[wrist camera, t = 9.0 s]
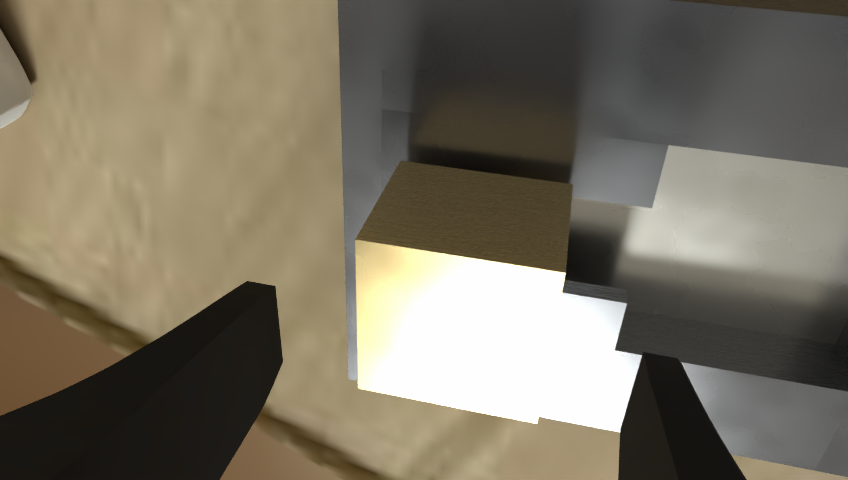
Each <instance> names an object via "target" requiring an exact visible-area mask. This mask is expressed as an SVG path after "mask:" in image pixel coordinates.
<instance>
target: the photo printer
mask: <svg viewBox="0 0 848 480" xmlns="http://www.w3.org/2000/svg"><path fill="white" fill-rule="evenodd" d="M32 96H33V92H32V87H31V84H30V82H29V80H28V78H27V76H26V73H25V71H24V69H23V67H22V65H21V63H20V62H19V60H18V58H17V56H16V55H15V53H14V51H13V49H12V48H11V46H10V44H9V43H8V41H7V39H6V37H5V36H4V34H3V32H2V31H1V29H0V129H1V128H3V127H4V126H6V125H8V124H10V123H12V122H13V121H15V120H16V119H18V118H19V117H20V116H21V115H22V114H23V113H24V111H25V110H26V108H27V106H28V104H29V101H30V100H31V98H32Z"/></svg>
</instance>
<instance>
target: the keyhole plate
mask: <svg viewBox="0 0 848 480" xmlns="http://www.w3.org/2000/svg"><path fill="white" fill-rule="evenodd" d="M338 21H339V57H340V92H341V128H342V163H343V199H344V234H345V270H346V305H347V340H348V376H349V379H351V380H356V381H358V350H357V304H356V258H355V239H356V237H357V235H358V234H359V232H360V230H361V228H362V227H363V225H364V223H365V221H366V220H367V218H368V216H369V215H370V213H371V211H372V209H373V208H374V206H375V204H376V202H377V201H378V199H379V197H380V195H381V194H382V192H383V190H384V188H385V187H386V185H387V183H388V182H389V180H390V178H391V176H392V175H393V173H394V171H395V169H396V168H397V166H398V164H399V162H400V161H406V162H414V163H421V164H428V165H436V166H443V167H450V168H458V169H465V170H472V171H479V172H487V173H494V174H501V175H509V176H516V177H523V178H530V179H538V180H545V181H552V182H560V183H567V184H573V190H572V202H571V214H570V227H569V239H568V251H567V264H566V274H565V280H564V285H563V290H562V295H561V300H560V306H559V311H558V316H557V321H556V327H555V332H554V337H553V342H552V347H551V353H550V358H549V363H548V368H547V374H546V379H545V384H544V389H543V394H542V400H541V405H540V410H539V415H538V416H540V417H545V418H550V419H555V420H560V421H565V422H570V423H575V424H580V425H586V426H591V427H596V428H601V429H606V430H611V431H616V432H620V429H621V425H622V422H623V418H624V415H625V412H626V408H627V405H628V402H629V398H630V395H631V391H632V388H633V385H634V381H635V378H636V374H637V371H638V368H639V364H640V361H641V357H642V354H643V352H646V353H652V354H657V355H663V356H668V357H674V358H678V359H679V361H680V362H681V363H682V365H683V367H684V369H685V371H686V373H687V375H688V377H689V379H690V381H691V384H692V385H693V387H694V389H695V391H696V393H697V395H698V397H699V399H700V401H701V403H702V405H703V407H704V409H705V410H706V412H707V414H708V416H709V418H710V420H711V421H712V423H713V425H714V427H715V429H716V430H717V432H718V434H719V435H720V437H721V439H722V440H723V442H724V444H725V446H726V447H727V449H728V451H729V452H730V454H733V455H738V456H744V457H749V458H754V459H759V460H764V461H769V462H774V463H779V464H784V465H789V466H795V467H800V468H805V469H810V470H815V471H820V472H825V473H830V474H835V475H840V476H845V477H848V0H338Z"/></svg>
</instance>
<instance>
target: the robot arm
mask: <svg viewBox="0 0 848 480" xmlns="http://www.w3.org/2000/svg"><path fill="white" fill-rule="evenodd" d="M282 362H283V358H282V348H281V338H280V328H279V318H278V308H277V298H276V288H275V286H272V285H266V284H260V283H255V282H249V281H247V282H245V283H243V284H242V285H240V286H239V287H237V288H235V289H234V290H232V291H231V292H229V293H228V294H226V295H225V296H223V297H222V298H220V299H219V300H217V301H216V302H214V303H213V304H211V305H210V306H208V307H207V308H205V309H204V310H202V311H201V312H199V313H197V314H196V315H194V316H193V317H191V318H190V319H188V320H187V321H185V322H183V323H182V324H180V325H179V326H177V327H176V328H174V329H173V330H171V331H169V332H168V333H166V334H165V335H163V336H162V337H160V338H158V339H156V340H155V341H153V342H151V343H150V344H148V345H146V346H144V347H143V348H141V349H139V350H138V351H136V352H134V353H132V354H131V355H129V356H127V357H126V358H124V359H122V360H120V361H119V362H117V363H115V364H114V365H111V366H110V367H108V368H106V369H104V370H102V371H100V372H98V373H96V374H94V375H92V376H90V377H88V378H86V379H84V380H82V381H80V382H78V383H76V384H74V385H72V386H70V387H68V388H66V389H63V390H61V391H59V392H57V393H55V394H52V395H50V396H48V397H45V398H43V399H40V400H38V401H35V402H33V403H31V404H28V405H26V406H23V407H21V408H18V409H16V410H14V411H11V412H9V413H6V414H4V415H1V416H0V480H220V478H221V476H222V475H223V473H224V471H225V470H226V468H227V466H228V465H229V463H230V461H231V460H232V458H233V456H234V455H235V453H236V451H237V450H238V448H239V446H240V445H241V443H242V442H243V440H244V438H245V436H246V435H247V433H248V431H249V430H250V428H251V426H252V425H253V423H254V421H255V420H256V418H257V416H258V415H259V413H260V411H261V409H262V408H263V406H264V404H265V402H266V400H267V397H268V395H269V393H270V391H271V389H272V386H273V384H274V382H275V379H276V377H277V374H278V372H279V370H280V367H281V365H282ZM618 480H746V478H745V476H744V475H743V473H742V472H741V470H740V469H739V467H738V465H737V464H736V462H735V461H734V459H733V457H732V456H731V454H730V452H729V451H728V449H727V447H726V446H725V444H724V442H723V440H722V439H721V437H720V435H719V434H718V432H717V430H716V429H715V427H714V425H713V423H712V421H711V420H710V418H709V416H708V414H707V412H706V410H705V409H704V407H703V405H702V403H701V401H700V399H699V397H698V395H697V393H696V391H695V389H694V387H693V385H692V384H691V381H690V379H689V377H688V375H687V373H686V371H685V369H684V367H683V365H682V363H681V362H680V361H679V359H678V358H674V357H668V356H663V355H657V354H652V353H646V352H643V354H642V357H641V361H640V364H639V368H638V371H637V374H636V378H635V381H634V385H633V388H632V391H631V395H630V398H629V402H628V405H627V408H626V412H625V415H624V418H623V422H622V425H621V429H620V450H619V478H618Z"/></svg>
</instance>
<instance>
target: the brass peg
mask: <svg viewBox="0 0 848 480" xmlns="http://www.w3.org/2000/svg"><path fill="white" fill-rule="evenodd" d="M572 190H573V184H567V183H560V182H552V181H545V180H538V179H530V178H523V177H516V176H509V175H501V174H494V173H487V172H479V171H472V170H465V169H458V168H450V167H443V166H436V165H428V164H421V163H414V162H406V161H400V162H399V164H398V166H397V168H396V169H395V171H394V173H393V175H392V176H391V178H390V180H389V182H388V183H387V185H386V187H385V188H384V190H383V192H382V194H381V195H380V197H379V199H378V201H377V202H376V204H375V206H374V208H373V209H372V211H371V213H370V215H369V216H368V218H367V220H366V221H365V223H364V225H363V227H362V228H361V230H360V232H359V234H358V235H357V237H356V239H355V258H356V304H357V350H358V388H359V389H364V390H369V391H374V392H379V393H384V394H389V395H395V396H400V397H405V398H410V399H415V400H420V401H425V402H430V403H435V404H440V405H445V406H451V407H456V408H461V409H466V410H471V411H476V412H481V413H486V414H491V415H496V416H501V417H507V418H512V419H517V420H522V421H527V422H532V423H537V421H538V415H539V410H540V405H541V400H542V394H543V389H544V384H545V379H546V374H547V368H548V363H549V358H550V353H551V347H552V342H553V337H554V332H555V327H556V321H557V316H558V311H559V306H560V300H561V295H562V290H563V285H564V280H565V274H566V264H567V251H568V239H569V227H570V214H571V202H572Z"/></svg>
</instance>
